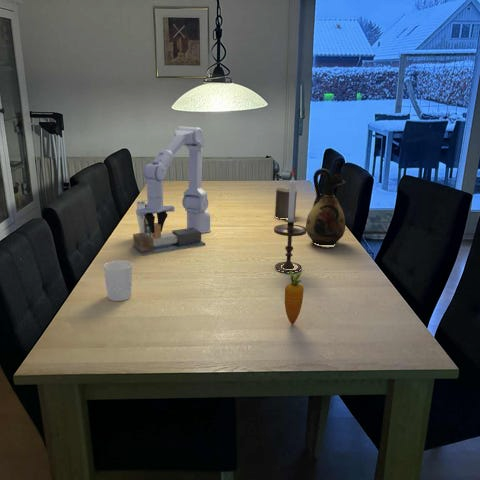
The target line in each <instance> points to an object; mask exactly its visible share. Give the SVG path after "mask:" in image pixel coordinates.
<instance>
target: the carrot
mask: <svg viewBox="0 0 480 480" xmlns="http://www.w3.org/2000/svg"><path fill="white" fill-rule="evenodd" d="M289 273H290V274H289V276H290V281H291V282H290V283H287V284H286V285H285V288H284V308H285V313H286V316H287V319H288V321H289V323H290V324H291V325H293V324H296V321H297V319H298V317H299V315H300V313H301V310H302V305H303V300H304V299H303V298H304V292H305V291H304V286H303V285H302V284H300V283H301V282H302V279H299V278H300V277H301V275H302V273H301V272H298V273H296V274H295V273H292V271H289ZM294 274H295V275H294Z"/></svg>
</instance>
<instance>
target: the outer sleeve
mask: <svg viewBox="0 0 480 480" xmlns="http://www.w3.org/2000/svg"><path fill="white" fill-rule="evenodd" d="M186 228H187V227H186ZM186 228H180V229H175V230H171V231H172V232H171V233H176V234H177V235H178V242H179V243H173V244H166V245H160V246H154V251H148V252H141V251H140V250H139V249H137V248H136V247H135V246H134V244H131V248H132V249H133V250H134V251H136V252H137V253H138V254H140V255H141V256H146V255H147V256H148V255H154V254H158V253H159V254H160V253H165V252H171V251H177V250H185V249H189V248H190V249H191V248H196V247H203V246H206V242H204V241H202V233H201V232H200V231H198V230H196V229H195V228H187V229H186Z"/></svg>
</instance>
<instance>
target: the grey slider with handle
mask: <svg viewBox="0 0 480 480" xmlns="http://www.w3.org/2000/svg"><path fill="white" fill-rule="evenodd" d="M150 237H152V238H153V241H154V246H160V245H166V244H173V243H179V242H178V235H177V234H176V233H172V232H171V233H166V234H165V233H164V234H162V232H161V224H159V223H158V222H154V233H152V236H150Z"/></svg>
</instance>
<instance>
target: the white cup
mask: <svg viewBox="0 0 480 480" xmlns="http://www.w3.org/2000/svg"><path fill="white" fill-rule="evenodd" d="M132 268H133V263H132V262H131V261H129V260H123V259H122V260H120V259H119V260H112V261H108V262H106V263H104V264H103V271H104V278H105V286H106V292H107V298H108V300H110V301H113V302H123V301H127V300H129V299H130V298H131V297H132V286H133V285H132V284H133V283H132V282H133V269H132Z"/></svg>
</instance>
